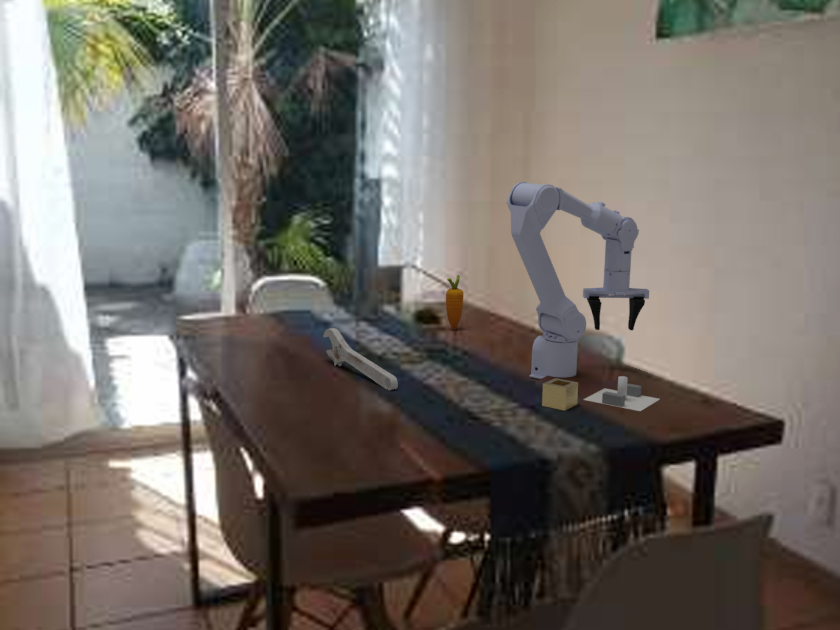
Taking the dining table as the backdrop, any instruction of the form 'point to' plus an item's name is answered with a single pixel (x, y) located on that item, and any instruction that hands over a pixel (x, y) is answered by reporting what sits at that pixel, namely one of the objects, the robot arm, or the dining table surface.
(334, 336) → the wrench
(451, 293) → the carrot
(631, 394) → the block
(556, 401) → the brass collar
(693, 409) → the dining table surface
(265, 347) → the dining table surface
